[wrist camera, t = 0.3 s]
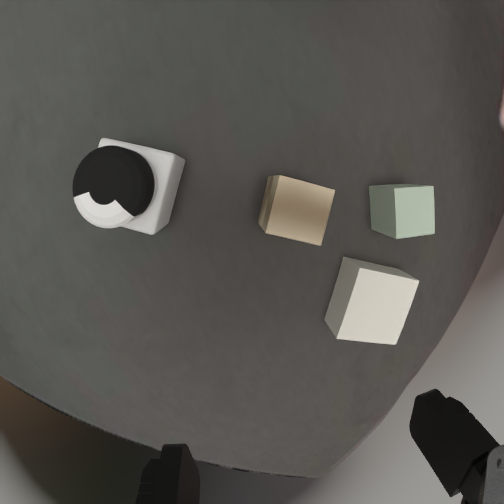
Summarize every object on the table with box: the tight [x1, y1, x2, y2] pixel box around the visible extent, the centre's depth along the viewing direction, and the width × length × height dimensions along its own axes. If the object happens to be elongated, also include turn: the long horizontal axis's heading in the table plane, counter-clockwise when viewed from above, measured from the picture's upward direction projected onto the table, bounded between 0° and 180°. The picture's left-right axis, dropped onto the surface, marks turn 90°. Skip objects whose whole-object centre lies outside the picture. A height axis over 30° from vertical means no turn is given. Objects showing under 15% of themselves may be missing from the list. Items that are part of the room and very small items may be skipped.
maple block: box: [258, 175, 335, 246], centre depth 30 cm, size 5×5×7 cm
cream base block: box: [324, 257, 419, 345], centre depth 34 cm, size 8×8×5 cm
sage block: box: [369, 184, 435, 239], centre depth 31 cm, size 5×5×6 cm
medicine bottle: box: [73, 138, 185, 235], centre depth 26 cm, size 7×7×12 cm
